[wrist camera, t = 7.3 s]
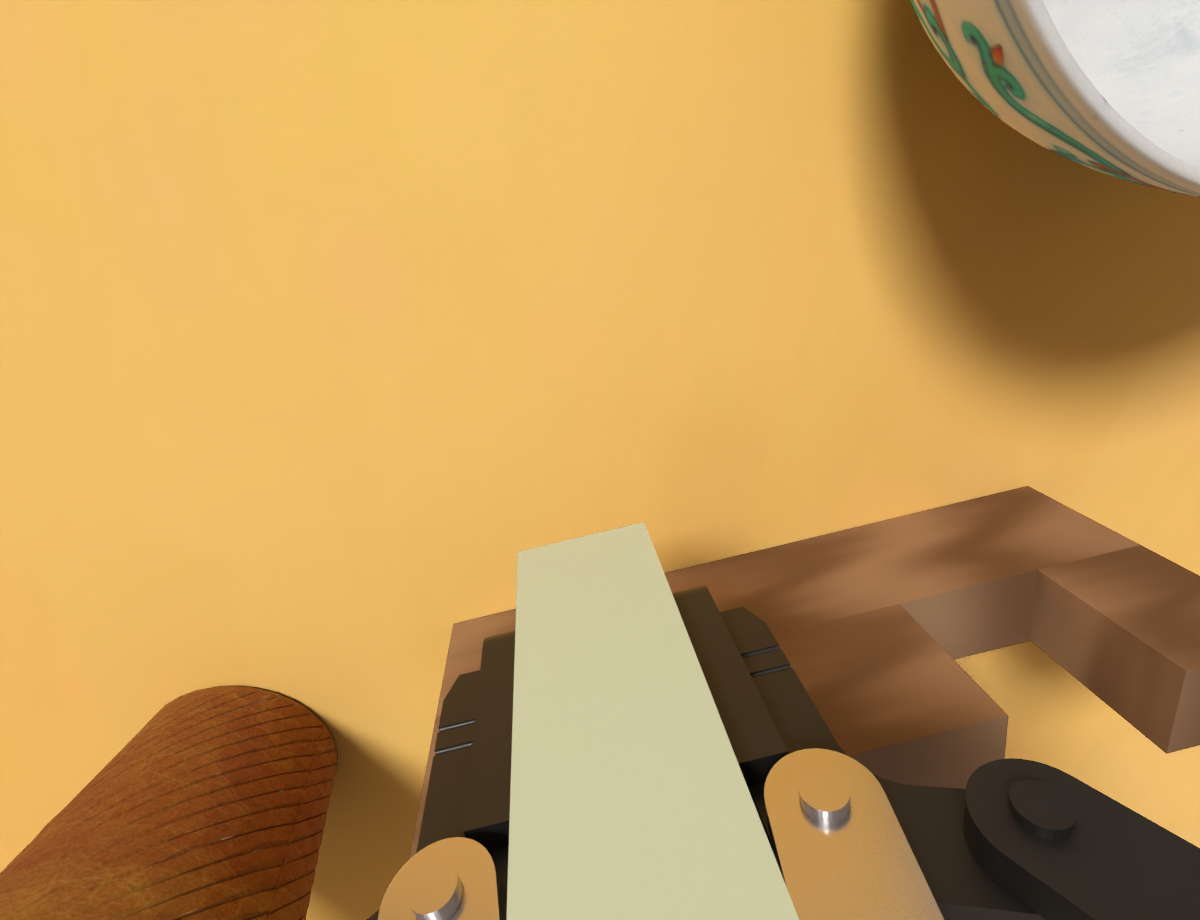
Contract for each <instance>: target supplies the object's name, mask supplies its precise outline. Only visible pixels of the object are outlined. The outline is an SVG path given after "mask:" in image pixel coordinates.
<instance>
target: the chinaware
mask: <svg viewBox="0 0 1200 920" xmlns="http://www.w3.org/2000/svg"><path fill="white" fill-rule="evenodd" d="M910 1H911V3H912V5H913V8H914V10H915V12H916V14H917V16H918V18H919V20H920V22H921V24H922V26H923V28H924V30H925V32H926V33H927V35H928V37H929V38H930V40H931V42H932V43H933V45H934V47H935V48H936V50H937V51H938V53H939V54H940V56H941V57H942V59H943V60H944V62H945V63H946V64H947V66H948V67H949V68H950V70H951V71H952V72H953V74H954V75H955V76H956V77H957V78H958V79H959V80H960V82H961V83H962V84H963V85H964V86H965V87H966V88H967V89H968V90H969V92H970V93H971V94H972V95H973V96H974V97H975V98H976V99H977V100H978V101H980V102H981V103H982V104H983V105H984V106H985V107H986V108H987V109H988V110H990V111H991V112H992V113H993V114H994V115H996V116H997V117H998V118H1000V119H1001V120H1002V121H1003V122H1005V123H1006V124H1007V125H1009V126H1010V127H1012V128H1013V129H1015V130H1016V131H1018V132H1019V133H1021V134H1022V135H1024V136H1025V137H1027V138H1029V139H1030V140H1032V141H1034V142H1035V143H1037V144H1039V145H1041V146H1043V147H1044V148H1046V149H1048V150H1050V151H1052V152H1054V153H1056V154H1058V155H1060V156H1062V157H1064V158H1067V159H1069V160H1071V161H1074V162H1076V163H1079V164H1081V165H1083V166H1086V167H1088V168H1091V169H1093V170H1096V171H1099V172H1102V173H1105V174H1108V175H1111V176H1114V177H1117V178H1120V179H1123V180H1127V181H1131V182H1134V183H1138V184H1142V185H1145V186H1149V187H1153V188H1157V189H1161V190H1166V191H1171V192H1176V193H1181V194H1186V195H1191V196H1196V197H1200V0H910Z"/></svg>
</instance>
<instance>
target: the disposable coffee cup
mask: <svg viewBox="0 0 1200 920" xmlns="http://www.w3.org/2000/svg"><path fill="white" fill-rule="evenodd" d="M336 769H337V750H336V745H335V743H334V741H333V738H332V736H331V734H330V732H329V731H328V729H327V728H326V726H325V725H324V723H323V722H322V721H321V720H320V719H318V718H317V717H316V716H315V715H314V714H313V713H312V712H311V711H309V710H308V709H307V708H305V707H304V706H302V705H301V704H299V703H297V702H296V701H294V700H292V699H289V698H287V697H285V696H282V695H280V694H277V693H274V692H270V691H266V690H261V689H257V688H253V687H243V686H219V687H212V688H206V689H201V690H197V691H194V692H191V693H188V694H186V695H183V696H180V697H178V698H177V699H175V700H173V701H172V702H170V703H168V704H167V705H165V706H164V707H163V708H162V709H161V710H160V711H159V712H158V713H157V714H156V715H155V716H154V717H153V718H152V719H151V720H150V721H149V722H148V723H147V724H146V725H145V726H144V728H143V729H142V730H141V731H140V732H139V733H138V734H137V735H136V736H135V737H134V738H133V739H132V740H131V741H130V742H129V743H128V744H127V745H126V746H125V747H124V748H123V749H122V750H121V751H120V752H119V753H118V754H117V755H116V756H115V757H114V758H113V759H112V760H111V761H110V762H109V763H108V764H107V765H106V766H105V767H104V768H103V769H102V770H101V771H100V772H99V773H98V774H97V775H96V777H95V778H94V779H93V780H92V781H91V782H90V783H89V784H88V785H87V786H86V787H85V788H84V789H83V790H82V791H81V792H80V793H79V794H78V795H77V796H76V797H75V798H74V799H73V800H72V801H71V802H70V803H69V804H68V805H67V806H66V807H65V808H64V809H63V810H62V811H61V812H60V813H59V814H58V815H57V816H56V817H54V818H53V819H52V820H51V821H50V822H49V823H48V824H47V825H46V826H45V827H44V828H43V829H42V831H41V832H40V833H39V834H38V835H37V837H36V838H35V839H34V840H33V841H32V842H31V843H30V844H29V845H28V846H27V847H26V848H25V849H24V850H23V851H22V852H21V853H20V854H19V855H18V856H17V857H16V858H15V859H14V860H13V861H12V862H11V863H10V864H9V865H8V866H7V867H6V868H5V869H4V870H3V871H2V872H1V873H0V920H305V919H306V913H307V909H308V907H309V900H310V893H311V887H312V885H313V883H314V876H315V868H316V865H317V861H318V854H319V848H320V845H321V841H322V834H323V828H324V826H325V821H326V814H327V809H328V806H329V800H330V795H331V792H332V786H333V780H334V776H335V773H336Z"/></svg>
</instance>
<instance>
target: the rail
mask: <svg viewBox="0 0 1200 920" xmlns="http://www.w3.org/2000/svg"><path fill="white" fill-rule="evenodd" d="M664 574H665V576H666V579H667V582H668V584H669V587H670V589H671V592H672V593H674V592H678V591H682V590H686V589H691V588H695V587H699V586H703V585H706V586H707V588H708V590H709V592H710V594H711V596H712V598H713V600H714V602H715V604H716V606H717V608H718V610H719V612H722V611H727V610H731V609H735V608H739V607H744V608H746V609H747V610H748V611H750V612H751V613H753V614H754V615H756V616H757V617H758V618H760V619H761V620H763V621H764V622H766V624H767V626H768V627H769V629H770V631H771V632H772V634H773V636H774V637H775V639H776V641H777V642H778V644H779V647H780V650H781V649H782V651H783V652H784V654H785V656H786V657H787V659H788V661H789V663H790V666H791V668H793V669H794V671H795V673H796V674H797V676H798V678H799V679H800V681H801V683H802V684H803V686H804V688H805V689H806V691H807V693H808V694H809V696H810V698H811V700H812V701H813V703H814V705H815V706H816V708H817V710H818V711H819V713H820V715H821V716H822V718H823V720H824V721H825V723H826V725H827V726H828V728H829V730H830V731H831V733H832V735H833V736H834V738H835V740H836V742H837V743H838V744H839V746H840V747H841V749H842V750H843V751H844V752H845V753H846V754H847V755H848V756H849V757H851V758H853V759H855V760H856V761H858V762H859V763H861V764H862V765H863V766H865V767H866V768H867V769H868V770H869V771H870V772H871V773H873V774H875V775H877V776H879V777H881V778H884V779H887V780H890V781H893V782H897V783H901V784H907V785H915V786H930V787H945V788H960V789H966V785H967V782H968V779H969V778H970V776H971V775H972V773H973V772H974V771H975V770H976V769H977V768H979V767H980V766H982V765H984V764H986V763H988V762H991V761H994V760H999V759H1004V757H1005V746H1006V735H1007V724H1008V715H1007V714H1006V713H1005V712H1004V711H1003V710H1002V709H1001V708H1000V707H999V706H998V705H997V704H996V703H995V702H994V700H993V699H992V698H991V697H990V696H989V695H988V694H987V693H986V692H985V691H984V690H983V689H982V688H981V687H980V686H979V685H978V684H977V683H976V682H975V681H974V680H973V679H972V678H971V677H970V676H969V675H968V674H967V673H966V672H965V671H964V670H963V669H962V668H961V667H960V666H959V665H958V664H957V663H956V662H955V661H954V659H958V658H962V657H966V656H970V655H974V654H978V653H982V652H986V651H990V650H994V649H998V648H1002V647H1007V646H1011V645H1015V644H1019V643H1023V642H1027V641H1031V642H1033V643H1034V644H1035V645H1036V646H1037V647H1039V648H1040V649H1041V650H1042V651H1043V652H1045V653H1046V654H1047V655H1048V656H1049V657H1051V658H1052V659H1053V660H1054V661H1055V662H1057V663H1058V664H1059V665H1060V666H1062V667H1063V668H1064V669H1065V670H1066V671H1068V672H1069V673H1070V674H1071V675H1072V676H1074V677H1075V678H1076V679H1077V680H1078V681H1080V682H1081V683H1082V684H1083V685H1084V686H1086V687H1087V688H1088V689H1089V690H1090V691H1092V692H1093V693H1094V694H1095V695H1096V696H1098V697H1099V698H1100V699H1101V700H1102V701H1104V702H1105V703H1106V704H1107V705H1109V706H1110V707H1111V708H1112V709H1113V710H1115V711H1116V712H1117V713H1118V714H1119V715H1121V716H1122V717H1123V718H1124V719H1125V720H1127V721H1128V722H1129V723H1130V724H1131V725H1133V726H1134V727H1135V728H1136V729H1137V730H1139V731H1140V732H1141V733H1142V734H1143V735H1145V736H1146V737H1147V738H1148V739H1149V740H1151V741H1152V742H1153V743H1154V744H1156V745H1157V746H1158V747H1159V748H1160V749H1162V750H1163V751H1164V752H1165V753H1166V754H1167V753H1171V752H1175V751H1179V750H1182V749H1186V748H1190V747H1194V746H1198V745H1200V576H1199V575H1197V574H1195V573H1193V572H1191V571H1189V570H1187V569H1185V568H1183V567H1181V566H1180V565H1178V564H1176V563H1174V562H1172V561H1170V560H1168V559H1166V558H1164V557H1162V556H1160V555H1159V554H1157V553H1155V552H1153V551H1151V550H1149V549H1147V548H1145V547H1143V546H1141V545H1140V544H1138V543H1136V542H1134V541H1132V540H1130V539H1128V538H1126V537H1124V536H1122V535H1120V534H1119V533H1117V532H1115V531H1113V530H1111V529H1109V528H1107V527H1105V526H1103V525H1101V524H1099V523H1098V522H1096V521H1094V520H1092V519H1090V518H1088V517H1086V516H1084V515H1082V514H1080V513H1078V512H1077V511H1075V510H1073V509H1071V508H1069V507H1067V506H1065V505H1063V504H1061V503H1059V502H1057V501H1056V500H1054V499H1052V498H1050V497H1048V496H1046V495H1044V494H1042V493H1040V492H1038V491H1036V490H1035V489H1033V488H1031V487H1029V486H1026V487H1022V488H1018V489H1014V490H1009V491H1005V492H1001V493H997V494H993V495H989V496H984V497H980V498H976V499H972V500H968V501H964V502H959V503H955V504H951V505H947V506H943V507H939V508H934V509H930V510H926V511H922V512H918V513H914V514H909V515H905V516H901V517H897V518H893V519H889V520H884V521H880V522H876V523H872V524H868V525H864V526H859V527H855V528H851V529H847V530H843V531H839V532H834V533H830V534H826V535H822V536H818V537H814V538H809V539H805V540H801V541H797V542H793V543H789V544H784V545H780V546H776V547H772V548H768V549H764V550H759V551H755V552H751V553H747V554H743V555H739V556H734V557H730V558H726V559H722V560H718V561H714V562H709V563H705V564H701V565H697V566H693V567H689V568H684V569H680V570H676V571H672V572H668V573H664ZM515 627H516V609H514V610H509V611H505V612H501V613H497V614H493V615H489V616H484V617H480V618H476V619H472V620H468V621H464V622H459V623H455V624H453V629H452V634H451V640H450V645H449V650H448V656H447V661H446V666H445V672H444V677H443V682H442V688H441V693H440V698H439V704H438V709H437V714H436V719H435V725H434V730H433V735H432V741H431V746H430V751H429V757H428V762H427V767H426V773H425V778H424V783H423V789H422V794H421V799H420V805H419V810H418V815H417V821H416V826H415V831H414V837H413V842H412V847H411V853H410V858H411V857H413V856H414V855H415V854H416V850H417V846H418V841H419V835H420V830H421V824H422V818H423V813H424V807H425V801H426V795H427V790H428V784H429V778H430V773H431V767H432V761H433V756H435V751H434V750H435V744H436V739H437V733H439V728H438V727H439V722H440V716H441V710H442V705H443V700H444V699H445V697H446V695H447V694H448V692H449V691H450V689H451V687H452V686H453V684H454V683H455V681H456V679H457V678H458V676H459V675H461V674H465V673H469V672H473V671H478V670H480V667H481V657H482V648H483V641H484V639H485V638H486V637H490V636H494V635H498V634H503V633H507V632H511V631H515ZM410 858H409V859H410Z"/></svg>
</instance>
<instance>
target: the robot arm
mask: <svg viewBox="0 0 1200 920" xmlns="http://www.w3.org/2000/svg"><path fill="white" fill-rule="evenodd" d="M672 594H673V597H674V600H675V602H676V605H677V607H678V610H679V612H680V615H681V618H682V620H683V623H684V625H685V628H686V630H687V633H688V636H689V638H690V641H691V643H692V646H693V648H694V651H695V653H696V656H697V659H698V661H699V664H700V666H701V669H702V671H703V674H704V677H705V679H706V682H707V684H708V687H709V689H710V692H711V695H712V697H713V700H714V702H715V705H716V707H717V710H718V713H719V715H720V718H721V720H722V723H723V725H724V728H725V731H726V733H727V736H728V738H729V741H730V743H731V746H732V749H733V751H734V754H735V756H736V759H737V761H738V764H739V767H740V769H741V772H742V774H743V777H744V779H745V782H746V784H747V787H748V790H749V792H750V795H751V797H752V800H753V802H754V805H755V808H756V810H757V813H758V815H759V818H760V820H761V823H762V826H763V828H764V831H765V833H766V836H767V838H768V841H769V844H770V846H771V849H772V851H773V854H774V856H775V859H776V862H777V864H778V867H779V869H780V872H781V874H782V877H783V880H784V882H785V885H786V887H787V890H788V892H789V895H790V898H791V900H792V903H793V905H794V908H795V910H796V913H797V915H798V918H799V920H1200V848H1198V847H1196V846H1194V845H1193V844H1191V843H1189V842H1187V841H1186V840H1184V839H1182V838H1180V837H1179V836H1177V835H1175V834H1173V833H1171V832H1170V831H1168V830H1166V829H1164V828H1163V827H1161V826H1159V825H1157V824H1156V823H1154V822H1152V821H1150V820H1148V819H1147V818H1145V817H1143V816H1141V815H1140V814H1138V813H1136V812H1134V811H1133V810H1131V809H1129V808H1127V807H1125V806H1124V805H1122V804H1120V803H1118V802H1117V801H1115V800H1113V799H1111V798H1110V797H1108V796H1106V795H1104V794H1103V793H1101V792H1099V791H1097V790H1095V789H1094V788H1092V787H1090V786H1088V785H1087V784H1085V783H1083V782H1081V781H1080V780H1078V779H1076V778H1074V777H1072V776H1071V775H1069V774H1067V773H1065V772H1063V771H1061V770H1059V769H1056V768H1054V767H1051V766H1048V765H1046V764H1042V763H1039V762H1035V761H1030V760H1024V759H1009V758H1008V759H999V760H994V761H991V762H988V763H986V764H984V765H982V766H980V767H979V768H977V769H976V770H975V771H974V772H973V773H972V775H971V776H970V778H969V779H968V782H967V785H966V789H960V788H945V787H930V786H915V785H907V784H901V783H897V782H893V781H890V780H887V779H884V778H881V777H879V776H877V775H875V774H873V773H871V772H870V771H869V770H868V769H867V768H866V767H865V766H863V765H862V764H861V763H859V762H858V761H856V760H855V759H853V758H851V757H849V756H848V755H847V754H846V753H845V752H844V751H843V750H842V749H841V747H840V746H839V744H838V743H837V742H836V740H835V738H834V736H833V735H832V733H831V731H830V730H829V728H828V726H827V725H826V723H825V721H824V720H823V718H822V716H821V715H820V713H819V711H818V710H817V708H816V706H815V705H814V703H813V701H812V700H811V698H810V696H809V694H808V693H807V691H806V689H805V688H804V686H803V684H802V683H801V681H800V679H799V678H798V676H797V674H796V673H795V671H794V669H793V668H791V666H790V663H789V661H788V659H787V657H786V656H785V654H784V652H783V651H782V649H781V650H780V647H779V644H778V642H777V641H776V639H775V637H774V636H773V634H772V632H771V631H770V629H769V627H768V626H767V624H766V622H764V621H763V620H761V619H760V618H758V617H757V616H756V615H754V614H753V613H751V612H750V611H748V610H747V609H746V608H744V607H739V608H735V609H731V610H727V611H722V612H719V610H718V608H717V606H716V604H715V602H714V600H713V598H712V596H711V594H710V592H709V590H708V588H707V586H706V585H703V586H699V587H695V588H691V589H686V590H682V591H678V592H674V593H672ZM514 659H515V631H511V632H507V633H503V634H498V635H494V636H490V637H486V638H485V639H484V641H483V648H482V657H481V667H480V670H478V671H473V672H469V673H465V674H461V675H459V676H458V678H457V679H456V681H455V683H454V684H453V686H452V687H451V689H450V691H449V692H448V694H447V695H446V697H445V699H444V700H443V705H442V710H441V716H440V722H439V727H438V728H439V733H437V739H436V744H435V750H434V751H435V756H433V761H432V767H431V773H430V778H429V784H428V790H427V795H426V801H425V807H424V813H423V818H422V824H421V830H420V835H419V841H418V846H417V850H416V854H415V855H414V856H413V857H411V858H410V859H409V860H408V861H407V862H406V863H405V864H404V865H403V866H402V868H401V869H400V870H399V871H398V873H397V874H396V875H395V876H394V878H393V880H392V881H391V883H390V884H389V886H388V888H387V890H386V892H385V895H384V897H383V900H382V903H381V906H380V909H379V910H378V911H377V912H376V913H375V914H374V915H372V916H371V917H370V918H369V919H367V920H506V917H507V885H508V853H509V821H510V788H511V756H512V724H513V692H514Z"/></svg>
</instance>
